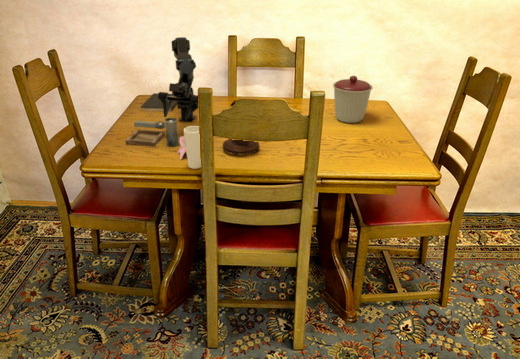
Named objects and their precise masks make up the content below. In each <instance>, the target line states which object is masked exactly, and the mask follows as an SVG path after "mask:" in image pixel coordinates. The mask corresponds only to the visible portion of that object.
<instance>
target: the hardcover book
mask: <svg viewBox="0 0 520 359" xmlns="http://www.w3.org/2000/svg"><path fill="white" fill-rule="evenodd" d="M158 93H159V92H158ZM158 93H152V94H151V95H150V97H148V98H147V99H146V100H145V101H144V103H143V104H141V105H140V107H139V108H140V111H147V112H148V111H150V112H152V111H153V112H164V108H163V103H162V102H161V101H160V100H159V99H158V98H157V96H158ZM168 94H169V95H170V96H174V95H173V94H172V93H168ZM170 105H171V106H170V109H169V111H168V112H173V110H175V108H176V107H177V101H171V103H170Z"/></svg>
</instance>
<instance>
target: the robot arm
mask: <svg viewBox="0 0 520 359" xmlns="http://www.w3.org/2000/svg"><path fill="white" fill-rule="evenodd" d="M190 51H191V42H190V40H189V39H187V37H183V36H181V37H176V38H174V39H173V40H171V52H173V57H174V58H175V59H176V60H175V69H176V70H177V71H178V73H179V75H178V77H179V79H178V82H176V83H172V82H170V83H169V87H168V92H171V94H173V95H174V96H170V95H169V94H170V93H168V92H164V91H159V92H158V96H157V98H158V99H159V100H160V101H161V102H162V103H163V108H164V111H163V117H164V118H167V116H168V114H169V112H170V111H169V109H170V106H171V105H170V103H171V101H177V105H176V107H177V109H179V110H180V118H179V119H178V121H179V122H189V123H192V122H193V121H194V120H195V119H196V118H197V116H195V115H194V112H195V111H196V110H199V109H198V96H199V95H195V94H194V89H193V87H192V86H193V82H194V78H195V76H194V73H195V72H194V70H196V68H197V64H196V62H195V61H194V59H193V58H192V55H191V54H190Z"/></svg>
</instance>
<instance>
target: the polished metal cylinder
mask: <svg viewBox="0 0 520 359" xmlns="http://www.w3.org/2000/svg"><path fill="white" fill-rule="evenodd" d="M177 121H178V120H177V118H176V117H166V118H165V119H164V123H165V136H166V137H165V138H166V145H167V147H170V148H175V147H177V146H179V138H178V137H179V134H178V123H177Z"/></svg>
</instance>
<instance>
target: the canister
mask: <svg viewBox="0 0 520 359" xmlns="http://www.w3.org/2000/svg"><path fill="white" fill-rule="evenodd" d="M332 86H333V93H334V95H333V96H334V100H333V101H334V115H335V118H336V119H337V120H338V121H340V122H342V123H347V124H348V123H349V124H355V123H356V124H357V123H359V122H361V121H362V120H364V118H365V115H366V113H367V108H368V104H369V99H370V96H371V91H372V90H373V85H372V84H371V83H369V82H368V81H365V80H361V79H358V77H357V76H356V75H351V76H350V77H349V78H346V79H340V80H338V81H336V82H334V83H333V84H332Z"/></svg>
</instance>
